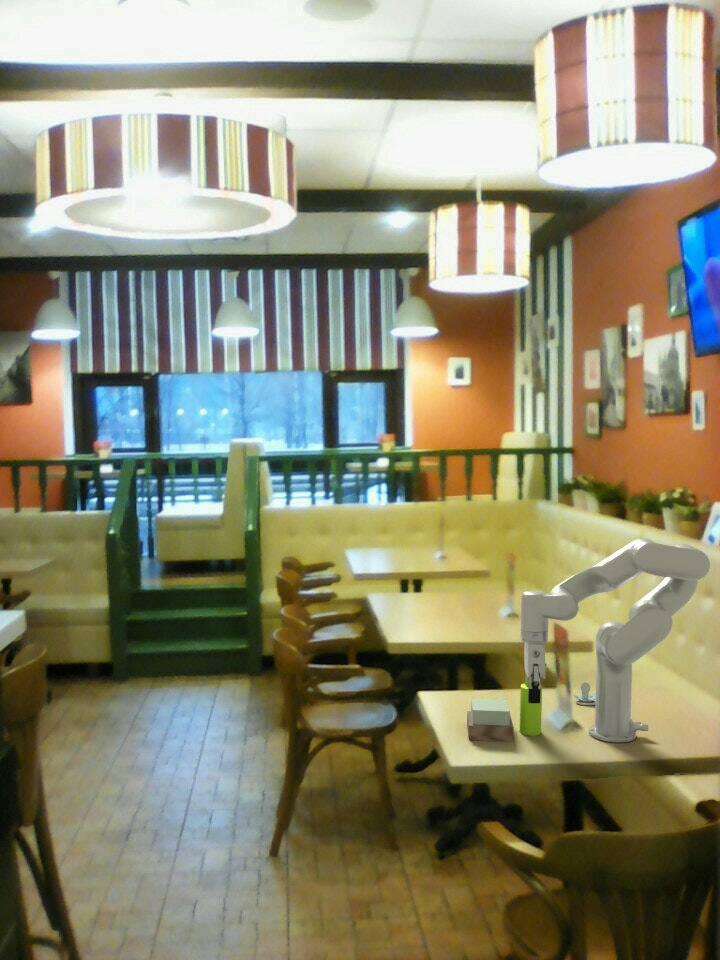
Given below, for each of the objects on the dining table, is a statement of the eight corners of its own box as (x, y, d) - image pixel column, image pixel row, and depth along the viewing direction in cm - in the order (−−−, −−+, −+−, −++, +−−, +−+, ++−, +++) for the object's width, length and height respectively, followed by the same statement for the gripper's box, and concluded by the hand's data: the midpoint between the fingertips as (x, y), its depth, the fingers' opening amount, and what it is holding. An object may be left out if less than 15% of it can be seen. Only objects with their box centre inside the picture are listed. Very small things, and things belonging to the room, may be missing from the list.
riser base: (509, 726, 249) (509, 712, 249) (513, 741, 237) (513, 727, 237) (467, 724, 250) (467, 711, 250) (468, 739, 238) (469, 725, 238)
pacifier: (600, 706, 268) (594, 700, 274) (601, 687, 268) (595, 680, 274) (576, 706, 268) (571, 700, 274) (577, 687, 267) (572, 680, 273)
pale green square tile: (506, 713, 248) (506, 699, 248) (509, 725, 238) (509, 711, 238) (471, 712, 249) (471, 698, 249) (472, 724, 239) (472, 710, 239)
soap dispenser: (545, 736, 241) (547, 665, 240) (519, 735, 242) (521, 664, 241) (544, 729, 247) (545, 659, 246) (519, 727, 248) (520, 658, 247)
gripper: (552, 643, 234) (550, 709, 235) (544, 628, 251) (542, 690, 252) (523, 642, 235) (522, 708, 236) (517, 628, 252) (516, 689, 253)
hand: (532, 698), depth 244 cm, fingers closed on soap dispenser, 5 cm apart
